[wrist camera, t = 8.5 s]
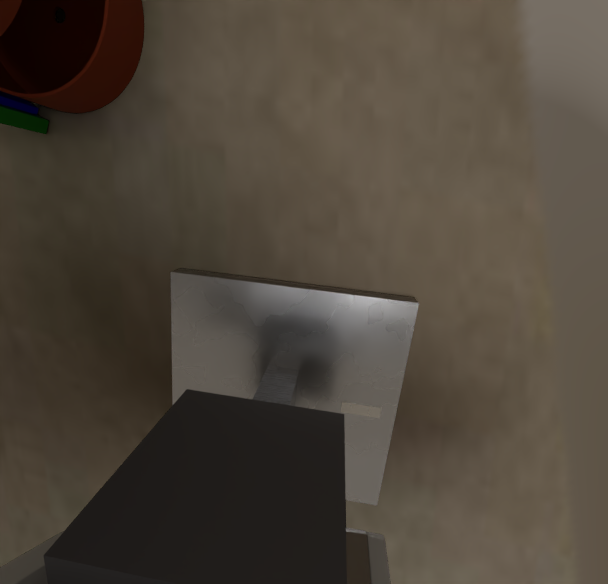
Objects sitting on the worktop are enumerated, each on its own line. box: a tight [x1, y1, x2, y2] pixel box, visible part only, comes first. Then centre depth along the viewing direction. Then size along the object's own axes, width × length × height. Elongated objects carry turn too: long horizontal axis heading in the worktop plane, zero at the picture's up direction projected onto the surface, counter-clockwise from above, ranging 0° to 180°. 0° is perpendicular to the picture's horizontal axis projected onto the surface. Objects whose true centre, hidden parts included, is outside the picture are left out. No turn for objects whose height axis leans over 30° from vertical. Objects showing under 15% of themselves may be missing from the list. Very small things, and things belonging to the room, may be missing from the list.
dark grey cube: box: [43, 389, 347, 584], centre depth 9 cm, size 6×6×6 cm
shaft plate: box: [171, 268, 419, 505], centre depth 15 cm, size 12×12×4 cm
